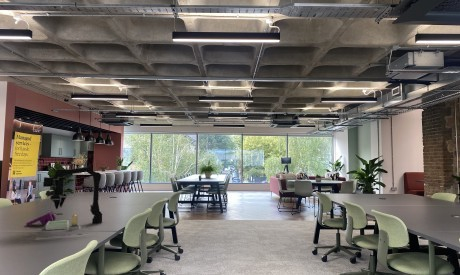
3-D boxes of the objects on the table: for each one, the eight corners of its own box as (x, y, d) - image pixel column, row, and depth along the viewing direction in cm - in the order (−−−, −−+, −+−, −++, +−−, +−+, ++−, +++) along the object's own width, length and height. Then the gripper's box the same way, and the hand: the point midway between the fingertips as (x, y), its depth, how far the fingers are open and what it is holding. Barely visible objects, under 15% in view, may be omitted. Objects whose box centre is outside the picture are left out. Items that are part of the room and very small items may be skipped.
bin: (68, 227, 234) (68, 220, 234) (67, 230, 222) (67, 223, 222) (48, 228, 229) (48, 221, 229) (45, 232, 217) (45, 224, 217)
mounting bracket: (29, 234, 234) (54, 223, 239) (24, 224, 234) (49, 212, 239) (33, 232, 243) (57, 220, 248) (28, 222, 243) (52, 211, 248)
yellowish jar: (77, 227, 225) (77, 214, 226) (76, 228, 222) (77, 215, 222) (71, 227, 224) (72, 214, 224) (71, 229, 220) (71, 215, 221)
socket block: (80, 228, 228) (80, 224, 228) (80, 231, 220) (80, 226, 221) (68, 229, 225) (68, 225, 225) (67, 232, 217) (67, 227, 218)
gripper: (51, 185, 241) (51, 206, 240) (42, 187, 223) (41, 210, 222) (67, 185, 243) (67, 206, 242) (60, 187, 225) (59, 209, 224)
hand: (58, 207), depth 232 cm, fingers open, 9 cm apart
